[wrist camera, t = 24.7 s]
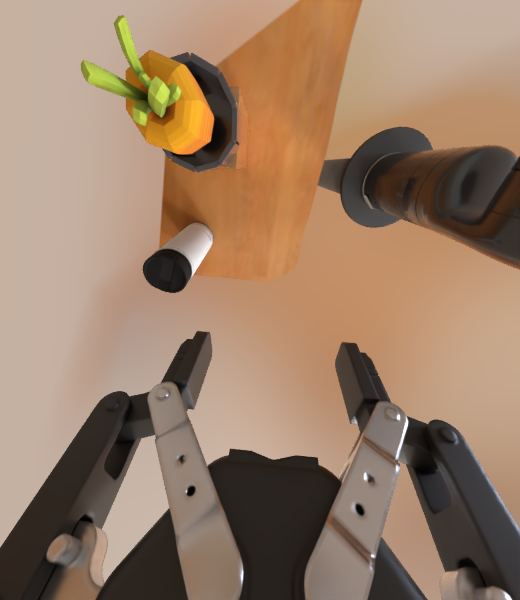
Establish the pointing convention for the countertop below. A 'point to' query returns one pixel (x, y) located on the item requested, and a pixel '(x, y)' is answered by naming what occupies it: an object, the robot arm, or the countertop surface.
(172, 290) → the travel mug
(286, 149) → the countertop surface
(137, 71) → the carrot
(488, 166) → the robot arm
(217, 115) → the pad socket
